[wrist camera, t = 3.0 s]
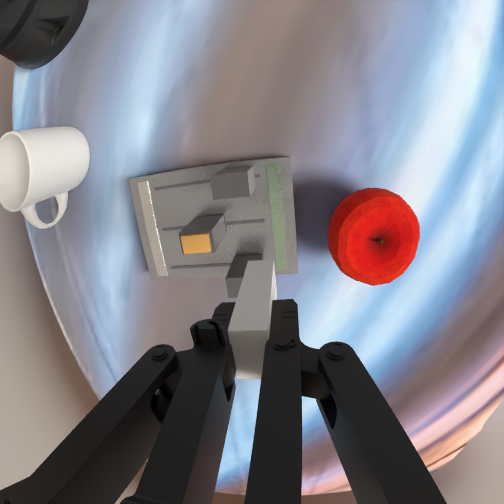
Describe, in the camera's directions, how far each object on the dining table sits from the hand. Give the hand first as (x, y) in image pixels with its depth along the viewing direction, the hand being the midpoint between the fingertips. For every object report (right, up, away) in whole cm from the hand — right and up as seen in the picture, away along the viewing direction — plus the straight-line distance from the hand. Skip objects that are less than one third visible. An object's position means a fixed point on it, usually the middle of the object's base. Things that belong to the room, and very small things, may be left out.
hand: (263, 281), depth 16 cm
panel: (-5, +5, +14) cm, 15 cm away
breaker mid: (-5, +5, +12) cm, 14 cm away
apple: (+11, +5, +12) cm, 17 cm away
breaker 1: (-2, +9, +10) cm, 13 cm away
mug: (-24, +12, +13) cm, 30 cm away
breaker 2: (-1, +1, +13) cm, 13 cm away
